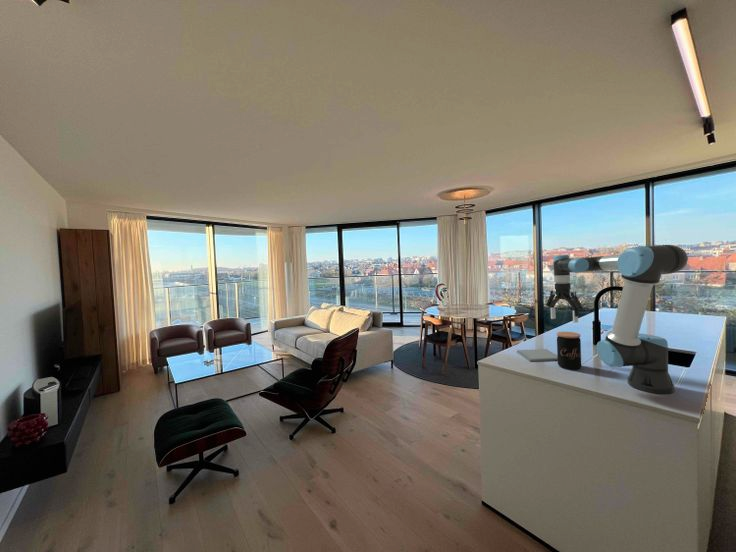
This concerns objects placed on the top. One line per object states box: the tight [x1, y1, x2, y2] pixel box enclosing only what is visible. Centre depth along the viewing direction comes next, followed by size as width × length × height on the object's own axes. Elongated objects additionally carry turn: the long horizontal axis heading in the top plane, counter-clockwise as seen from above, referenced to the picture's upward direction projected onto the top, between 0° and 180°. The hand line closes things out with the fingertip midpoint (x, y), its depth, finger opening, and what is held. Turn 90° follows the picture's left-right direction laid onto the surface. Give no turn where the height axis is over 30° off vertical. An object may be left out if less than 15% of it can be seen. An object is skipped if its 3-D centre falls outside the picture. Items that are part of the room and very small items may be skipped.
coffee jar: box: [556, 331, 582, 371], centre depth 162 cm, size 11×11×18 cm
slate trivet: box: [516, 348, 558, 363], centre depth 182 cm, size 18×18×1 cm
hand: (564, 320), depth 169 cm, fingers open, 13 cm apart
